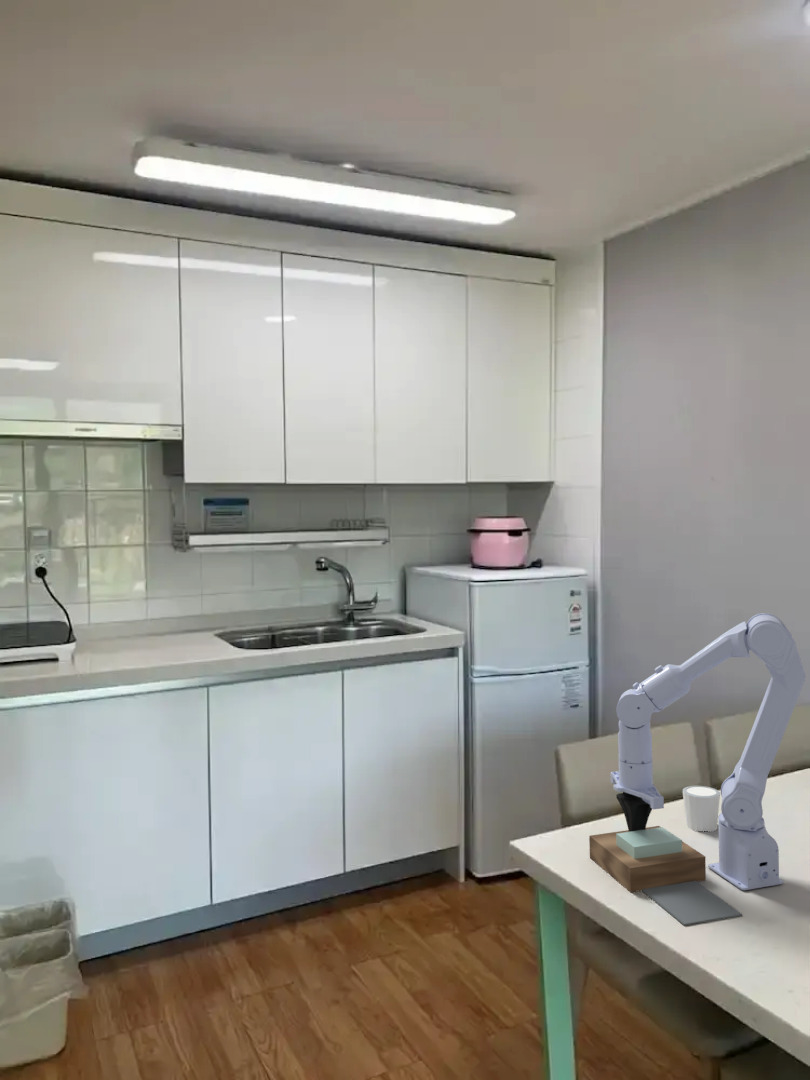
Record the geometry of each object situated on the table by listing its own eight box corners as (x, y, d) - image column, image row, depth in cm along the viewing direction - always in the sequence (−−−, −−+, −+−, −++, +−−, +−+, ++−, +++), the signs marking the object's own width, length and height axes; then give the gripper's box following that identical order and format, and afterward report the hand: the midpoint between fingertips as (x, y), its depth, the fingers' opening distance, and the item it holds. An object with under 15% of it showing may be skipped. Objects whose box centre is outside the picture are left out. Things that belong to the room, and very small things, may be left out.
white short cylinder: (714, 836, 156) (713, 799, 156) (678, 828, 160) (677, 792, 160) (725, 824, 162) (724, 789, 161) (689, 817, 166) (689, 782, 165)
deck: (705, 880, 138) (705, 856, 138) (630, 892, 135) (630, 868, 134) (659, 847, 152) (658, 825, 152) (589, 857, 148) (589, 835, 148)
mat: (742, 915, 126) (742, 913, 126) (684, 926, 124) (684, 924, 124) (695, 882, 138) (695, 880, 138) (642, 891, 135) (642, 889, 135)
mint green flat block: (682, 851, 140) (681, 840, 140) (634, 858, 138) (634, 847, 138) (662, 838, 146) (662, 827, 146) (616, 844, 144) (616, 833, 144)
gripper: (594, 750, 151) (596, 823, 152) (636, 774, 137) (638, 855, 138) (629, 746, 153) (631, 818, 154) (674, 769, 139) (675, 849, 139)
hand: (636, 835), depth 146 cm, fingers closed
